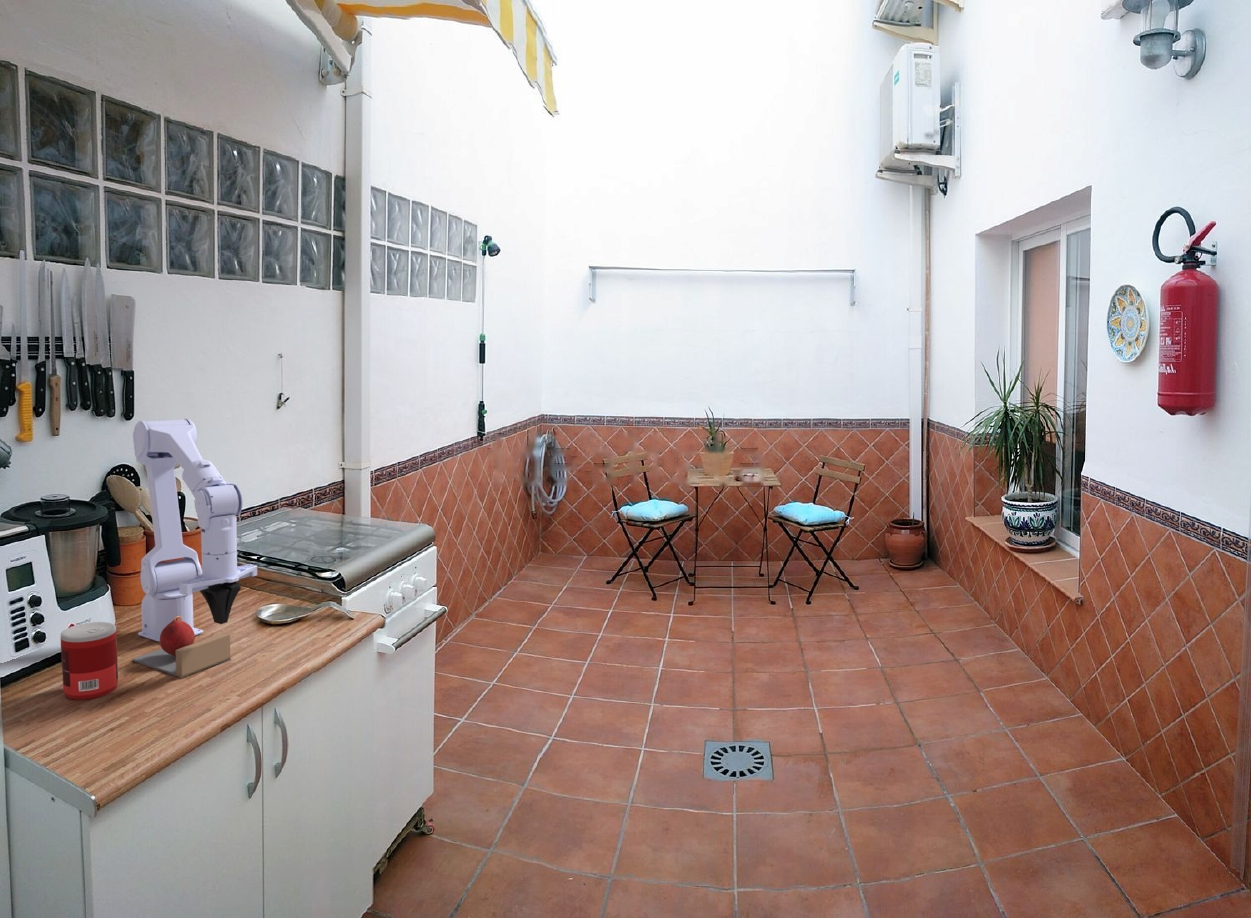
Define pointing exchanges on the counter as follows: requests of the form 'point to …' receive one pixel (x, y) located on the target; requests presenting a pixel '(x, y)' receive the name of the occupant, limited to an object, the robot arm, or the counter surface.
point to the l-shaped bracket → (190, 657)
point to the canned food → (89, 660)
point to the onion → (176, 636)
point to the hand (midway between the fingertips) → (220, 622)
